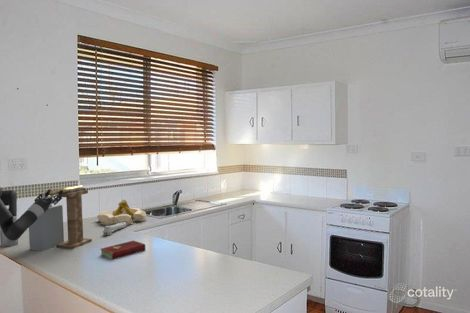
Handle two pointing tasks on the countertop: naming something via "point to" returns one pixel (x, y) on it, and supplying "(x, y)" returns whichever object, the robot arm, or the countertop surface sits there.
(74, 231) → the walnut stand
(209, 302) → the countertop surface
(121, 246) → the hardcover book
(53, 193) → the brass rod
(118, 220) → the campfire
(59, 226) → the grey cradle
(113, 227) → the toothbrush head
